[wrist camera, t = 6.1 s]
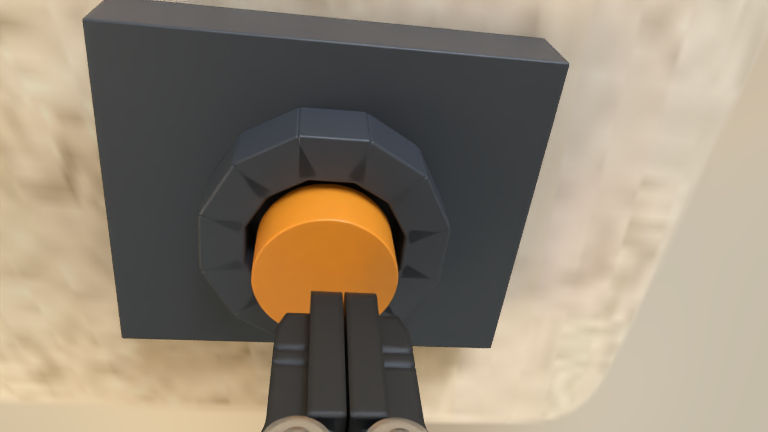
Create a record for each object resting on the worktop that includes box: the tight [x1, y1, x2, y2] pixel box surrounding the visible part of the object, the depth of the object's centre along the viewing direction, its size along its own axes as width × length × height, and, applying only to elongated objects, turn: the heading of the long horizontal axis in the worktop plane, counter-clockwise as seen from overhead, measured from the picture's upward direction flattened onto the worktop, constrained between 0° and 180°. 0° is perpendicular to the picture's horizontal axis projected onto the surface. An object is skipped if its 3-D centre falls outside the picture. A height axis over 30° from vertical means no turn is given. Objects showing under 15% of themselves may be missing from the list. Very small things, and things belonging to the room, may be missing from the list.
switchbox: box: [83, 0, 569, 348], centre depth 19 cm, size 12×10×4 cm
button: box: [251, 184, 398, 323], centre depth 16 cm, size 4×4×2 cm
